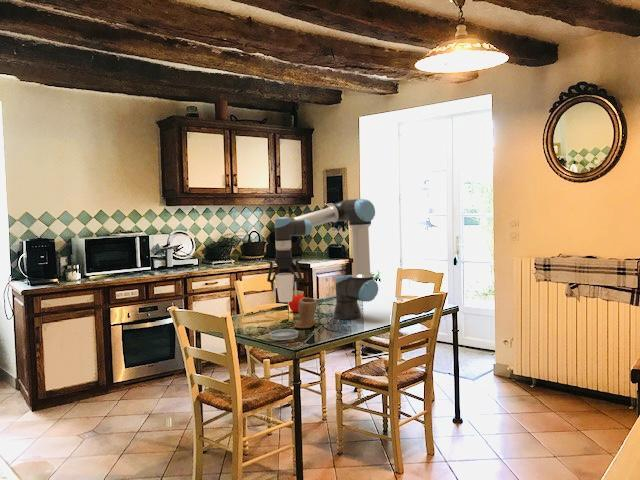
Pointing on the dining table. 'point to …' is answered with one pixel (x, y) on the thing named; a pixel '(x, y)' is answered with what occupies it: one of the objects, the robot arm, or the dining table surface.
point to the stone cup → (306, 313)
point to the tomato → (295, 302)
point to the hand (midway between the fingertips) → (285, 295)
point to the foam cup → (285, 286)
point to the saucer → (283, 334)
